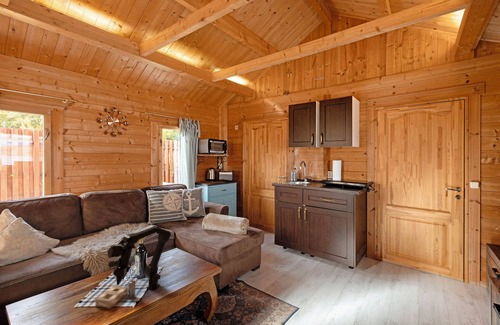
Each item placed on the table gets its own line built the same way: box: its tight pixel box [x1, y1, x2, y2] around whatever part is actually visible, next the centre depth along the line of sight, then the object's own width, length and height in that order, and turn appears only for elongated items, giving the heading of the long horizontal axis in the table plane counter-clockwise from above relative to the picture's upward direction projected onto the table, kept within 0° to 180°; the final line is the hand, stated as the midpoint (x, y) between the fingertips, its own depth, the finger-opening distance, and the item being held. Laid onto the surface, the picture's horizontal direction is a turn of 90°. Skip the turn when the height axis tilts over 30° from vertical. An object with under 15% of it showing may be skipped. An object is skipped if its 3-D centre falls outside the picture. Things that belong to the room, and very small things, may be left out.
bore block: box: [94, 285, 128, 310], centre depth 151 cm, size 15×10×4 cm, turn 168°
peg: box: [127, 280, 136, 301], centre depth 153 cm, size 4×4×10 cm
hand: (120, 282), depth 148 cm, fingers open, 9 cm apart
